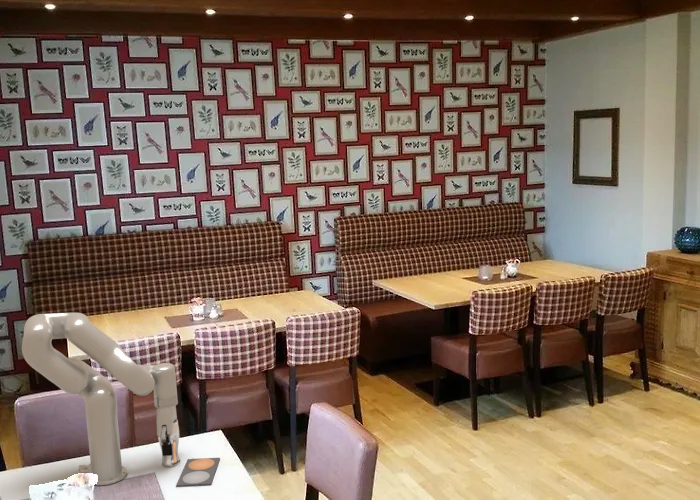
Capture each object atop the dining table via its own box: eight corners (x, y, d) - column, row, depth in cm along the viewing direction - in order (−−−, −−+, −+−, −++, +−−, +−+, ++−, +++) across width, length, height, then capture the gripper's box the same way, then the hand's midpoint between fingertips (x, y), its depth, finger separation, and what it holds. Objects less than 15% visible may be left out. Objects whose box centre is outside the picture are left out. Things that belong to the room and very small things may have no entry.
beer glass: (175, 468, 238) (172, 425, 236) (156, 467, 240) (153, 424, 238) (184, 459, 245) (181, 417, 243) (166, 458, 246) (162, 417, 244)
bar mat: (176, 487, 225) (176, 484, 225) (187, 460, 244) (187, 458, 244) (211, 485, 225) (210, 483, 225) (220, 459, 244) (219, 457, 244)
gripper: (160, 392, 248) (164, 440, 250) (148, 410, 230) (152, 462, 233) (182, 391, 248) (186, 439, 250) (171, 409, 231) (175, 461, 233)
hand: (169, 450), depth 242 cm, fingers closed on beer glass, 6 cm apart
